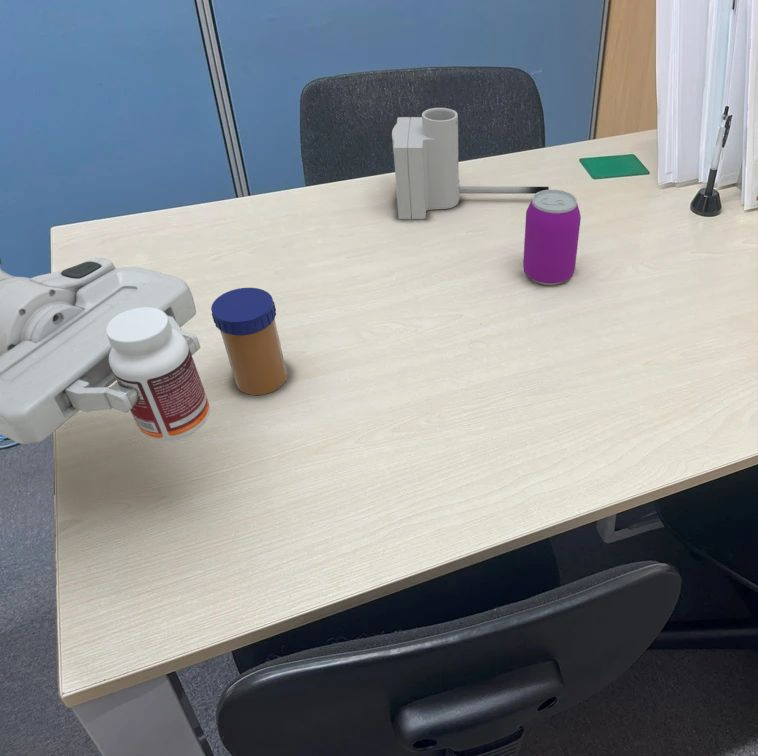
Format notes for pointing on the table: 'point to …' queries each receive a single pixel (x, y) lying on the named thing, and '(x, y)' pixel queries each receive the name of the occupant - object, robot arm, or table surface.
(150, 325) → the pill bottle
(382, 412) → the table surface
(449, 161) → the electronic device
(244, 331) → the lid
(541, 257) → the beverage can
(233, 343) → the jar
